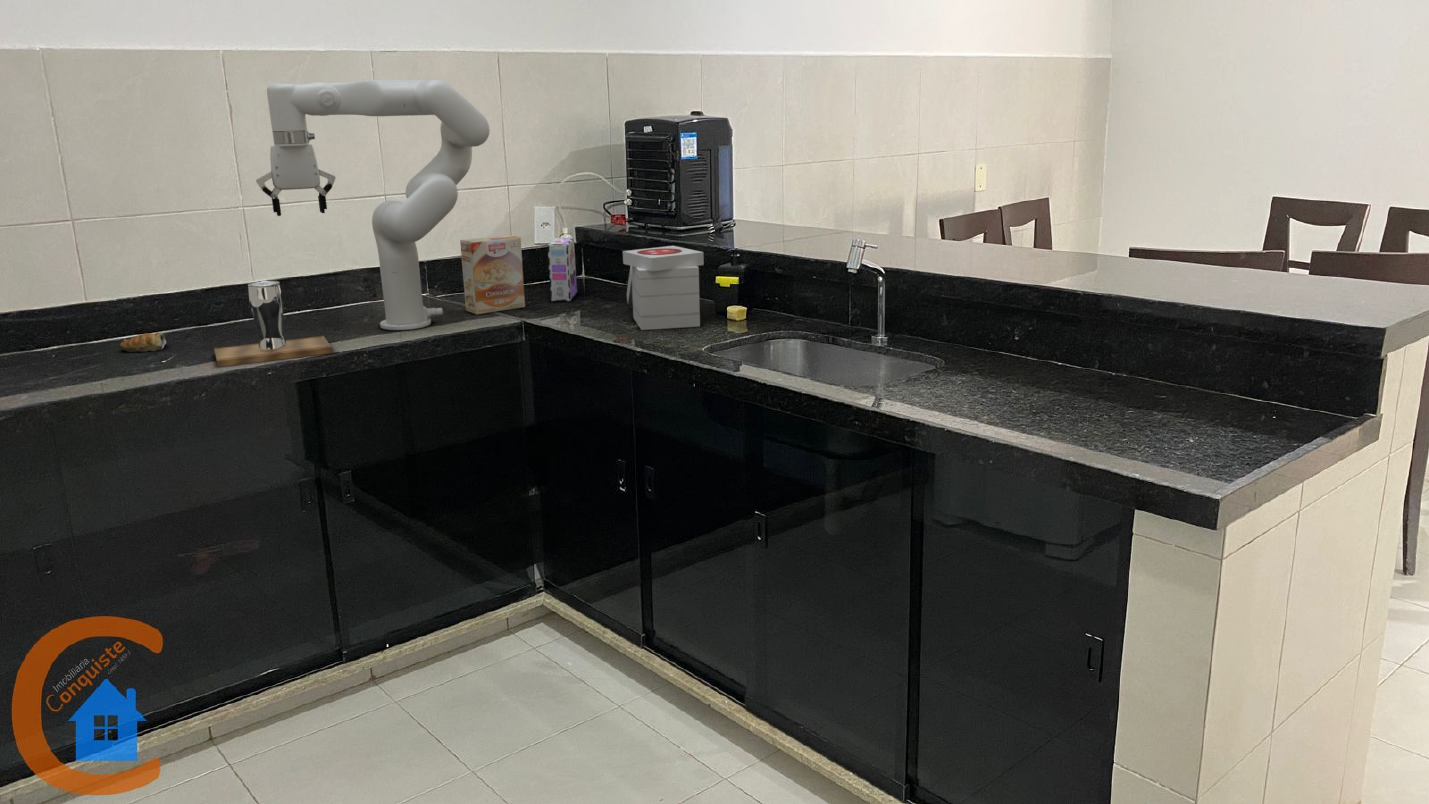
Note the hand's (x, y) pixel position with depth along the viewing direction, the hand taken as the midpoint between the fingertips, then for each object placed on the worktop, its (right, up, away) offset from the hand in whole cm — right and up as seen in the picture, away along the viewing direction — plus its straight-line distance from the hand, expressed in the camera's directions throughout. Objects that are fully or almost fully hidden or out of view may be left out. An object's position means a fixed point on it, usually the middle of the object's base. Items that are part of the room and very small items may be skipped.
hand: (301, 214), depth 241 cm
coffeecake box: (+37, -19, +40) cm, 58 cm away
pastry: (-37, -32, +2) cm, 49 cm away
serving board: (-4, -33, -5) cm, 34 cm away
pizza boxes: (+84, -23, +26) cm, 90 cm away
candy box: (+54, -14, +55) cm, 78 cm away
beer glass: (-4, -32, -6) cm, 33 cm away
